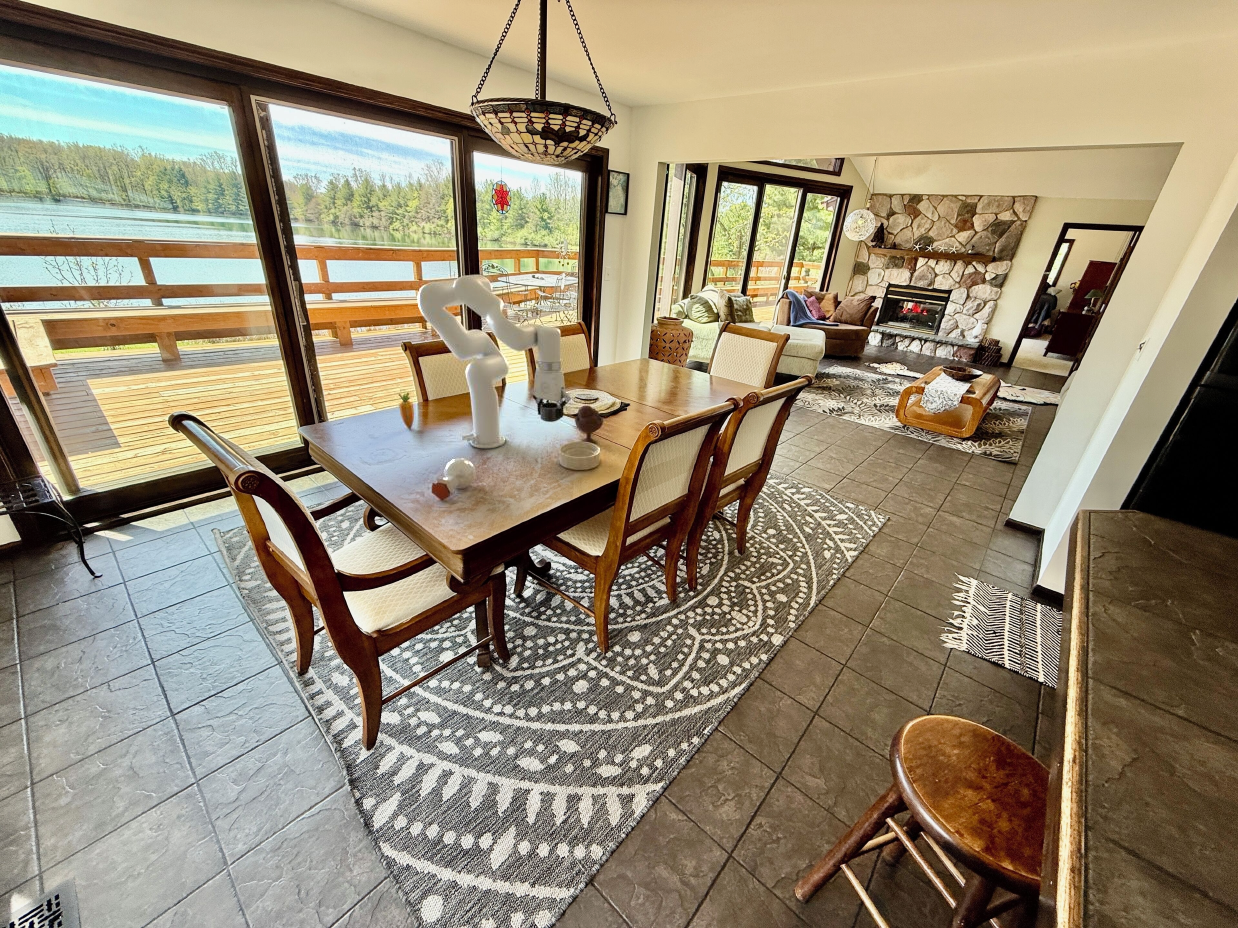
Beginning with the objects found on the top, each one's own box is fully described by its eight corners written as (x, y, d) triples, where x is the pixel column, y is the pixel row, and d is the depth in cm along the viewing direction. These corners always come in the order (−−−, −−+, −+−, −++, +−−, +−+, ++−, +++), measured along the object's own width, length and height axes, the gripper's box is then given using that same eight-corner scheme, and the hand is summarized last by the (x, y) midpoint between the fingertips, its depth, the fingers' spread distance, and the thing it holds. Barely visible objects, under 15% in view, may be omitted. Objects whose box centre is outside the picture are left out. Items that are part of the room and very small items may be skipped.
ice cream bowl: (599, 449, 180) (600, 411, 174) (570, 445, 182) (570, 408, 176) (605, 438, 190) (606, 402, 183) (578, 435, 192) (578, 399, 185)
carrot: (400, 429, 188) (394, 393, 182) (409, 425, 192) (403, 389, 186) (409, 432, 187) (404, 395, 180) (419, 428, 191) (414, 391, 184)
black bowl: (545, 423, 164) (544, 409, 162) (537, 417, 169) (537, 403, 167) (563, 420, 167) (563, 407, 165) (555, 414, 172) (555, 401, 170)
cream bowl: (569, 474, 160) (569, 460, 158) (552, 457, 171) (552, 445, 169) (606, 466, 167) (607, 453, 165) (588, 451, 178) (588, 439, 176)
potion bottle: (475, 483, 155) (447, 510, 142) (451, 464, 154) (421, 489, 141) (487, 466, 149) (459, 493, 137) (462, 446, 148) (431, 471, 136)
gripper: (521, 364, 160) (523, 414, 168) (565, 371, 153) (566, 424, 161) (534, 359, 166) (536, 408, 174) (577, 367, 160) (577, 417, 167)
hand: (550, 415), depth 167 cm, fingers closed on black bowl, 7 cm apart
